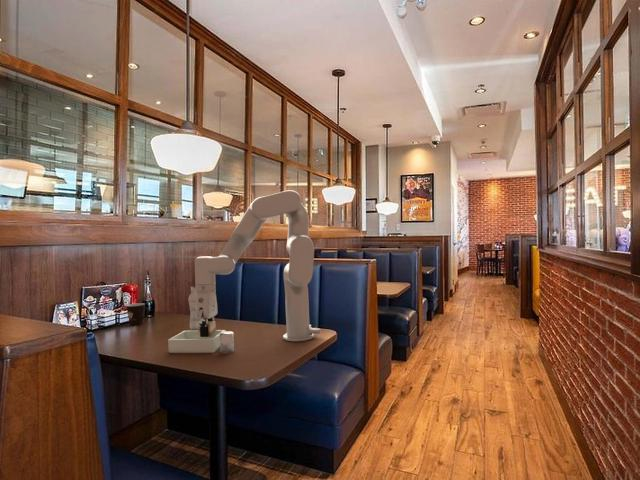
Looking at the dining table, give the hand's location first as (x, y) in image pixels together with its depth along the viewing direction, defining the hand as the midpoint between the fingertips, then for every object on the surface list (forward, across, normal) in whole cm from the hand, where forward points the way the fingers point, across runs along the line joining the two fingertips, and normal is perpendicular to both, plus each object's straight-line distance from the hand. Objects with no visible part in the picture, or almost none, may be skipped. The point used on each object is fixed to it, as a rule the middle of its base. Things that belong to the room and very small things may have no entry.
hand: (207, 334), depth 153 cm
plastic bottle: (+5, +28, +16) cm, 33 cm away
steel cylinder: (+5, -5, -10) cm, 12 cm away
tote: (+5, 0, +4) cm, 6 cm away
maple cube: (0, 0, 0) cm, 0 cm away
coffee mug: (+6, +41, +53) cm, 67 cm away
